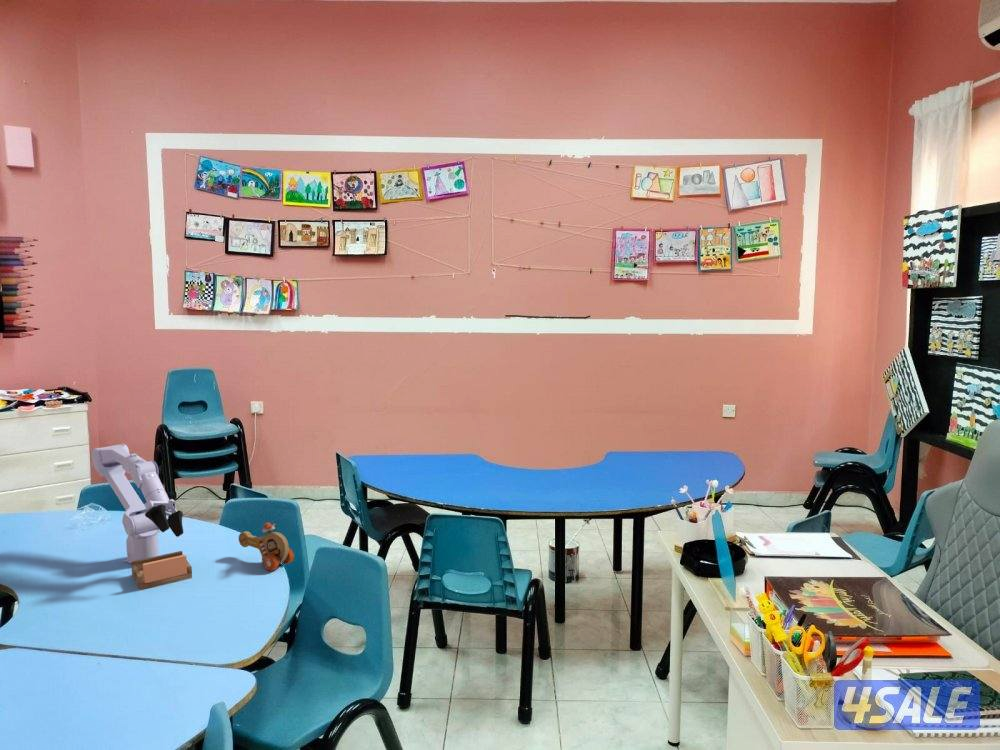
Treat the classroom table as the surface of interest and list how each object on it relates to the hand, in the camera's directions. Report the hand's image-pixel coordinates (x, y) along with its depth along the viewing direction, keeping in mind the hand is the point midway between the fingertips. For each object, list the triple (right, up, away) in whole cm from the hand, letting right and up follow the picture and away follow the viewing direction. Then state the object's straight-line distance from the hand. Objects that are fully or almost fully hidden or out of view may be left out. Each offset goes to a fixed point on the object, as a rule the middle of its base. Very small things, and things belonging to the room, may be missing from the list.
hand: (173, 532), depth 203 cm
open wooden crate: (-5, -14, +3) cm, 15 cm away
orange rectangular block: (-1, -13, -2) cm, 13 cm away
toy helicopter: (+22, -13, +14) cm, 30 cm away
